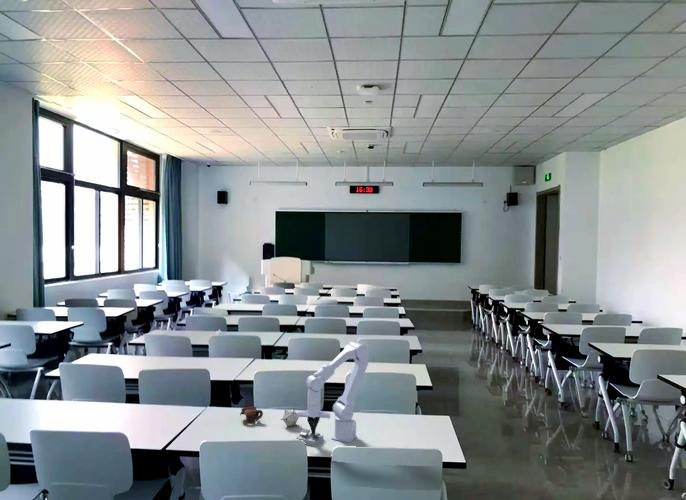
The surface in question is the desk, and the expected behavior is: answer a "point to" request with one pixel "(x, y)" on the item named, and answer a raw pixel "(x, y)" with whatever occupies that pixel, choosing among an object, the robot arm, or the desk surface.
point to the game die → (290, 417)
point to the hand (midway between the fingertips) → (313, 433)
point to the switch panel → (311, 439)
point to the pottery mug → (251, 415)
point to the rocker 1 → (304, 432)
